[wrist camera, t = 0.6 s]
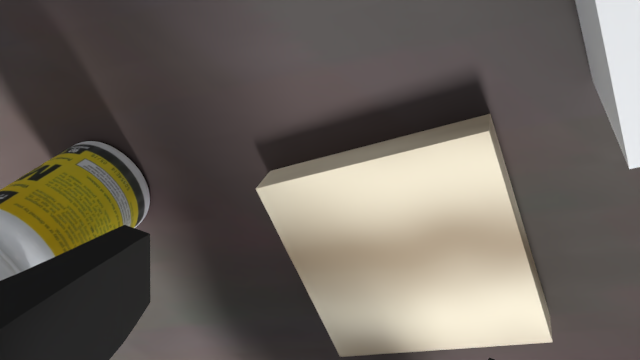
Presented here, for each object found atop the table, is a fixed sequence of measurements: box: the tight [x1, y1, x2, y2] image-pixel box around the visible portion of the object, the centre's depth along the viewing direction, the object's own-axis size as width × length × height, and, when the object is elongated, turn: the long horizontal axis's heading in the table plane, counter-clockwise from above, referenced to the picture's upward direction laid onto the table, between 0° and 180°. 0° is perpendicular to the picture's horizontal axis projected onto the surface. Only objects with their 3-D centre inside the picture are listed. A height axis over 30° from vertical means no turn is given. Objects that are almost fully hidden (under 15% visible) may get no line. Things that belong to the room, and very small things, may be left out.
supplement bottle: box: [0, 141, 150, 281], centre depth 21 cm, size 5×5×8 cm
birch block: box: [256, 114, 552, 357], centre depth 21 cm, size 9×9×2 cm
